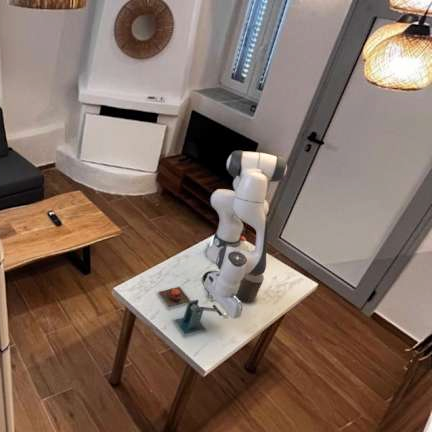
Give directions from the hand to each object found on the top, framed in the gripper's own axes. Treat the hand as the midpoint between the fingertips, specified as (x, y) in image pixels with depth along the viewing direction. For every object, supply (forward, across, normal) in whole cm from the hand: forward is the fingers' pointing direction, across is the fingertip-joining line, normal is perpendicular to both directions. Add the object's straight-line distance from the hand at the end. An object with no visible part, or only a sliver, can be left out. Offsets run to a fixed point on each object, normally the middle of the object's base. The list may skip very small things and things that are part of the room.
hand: (218, 308), depth 173 cm
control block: (+7, +16, +10) cm, 21 cm away
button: (+4, +16, +10) cm, 20 cm away
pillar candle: (+7, +8, -23) cm, 25 cm away
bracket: (+7, 0, +12) cm, 14 cm away
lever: (-1, 0, +7) cm, 7 cm away
